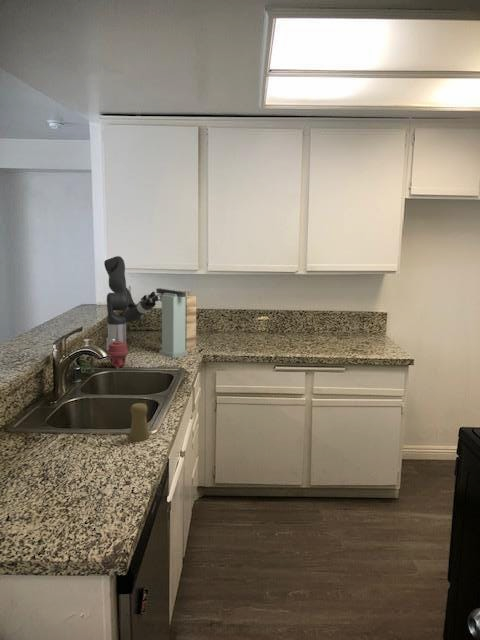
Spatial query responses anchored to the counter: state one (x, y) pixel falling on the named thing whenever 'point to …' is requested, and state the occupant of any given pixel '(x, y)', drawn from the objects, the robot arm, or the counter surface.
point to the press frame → (173, 325)
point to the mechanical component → (118, 353)
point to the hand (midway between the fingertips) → (161, 292)
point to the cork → (139, 423)
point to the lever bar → (171, 292)
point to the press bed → (190, 322)
